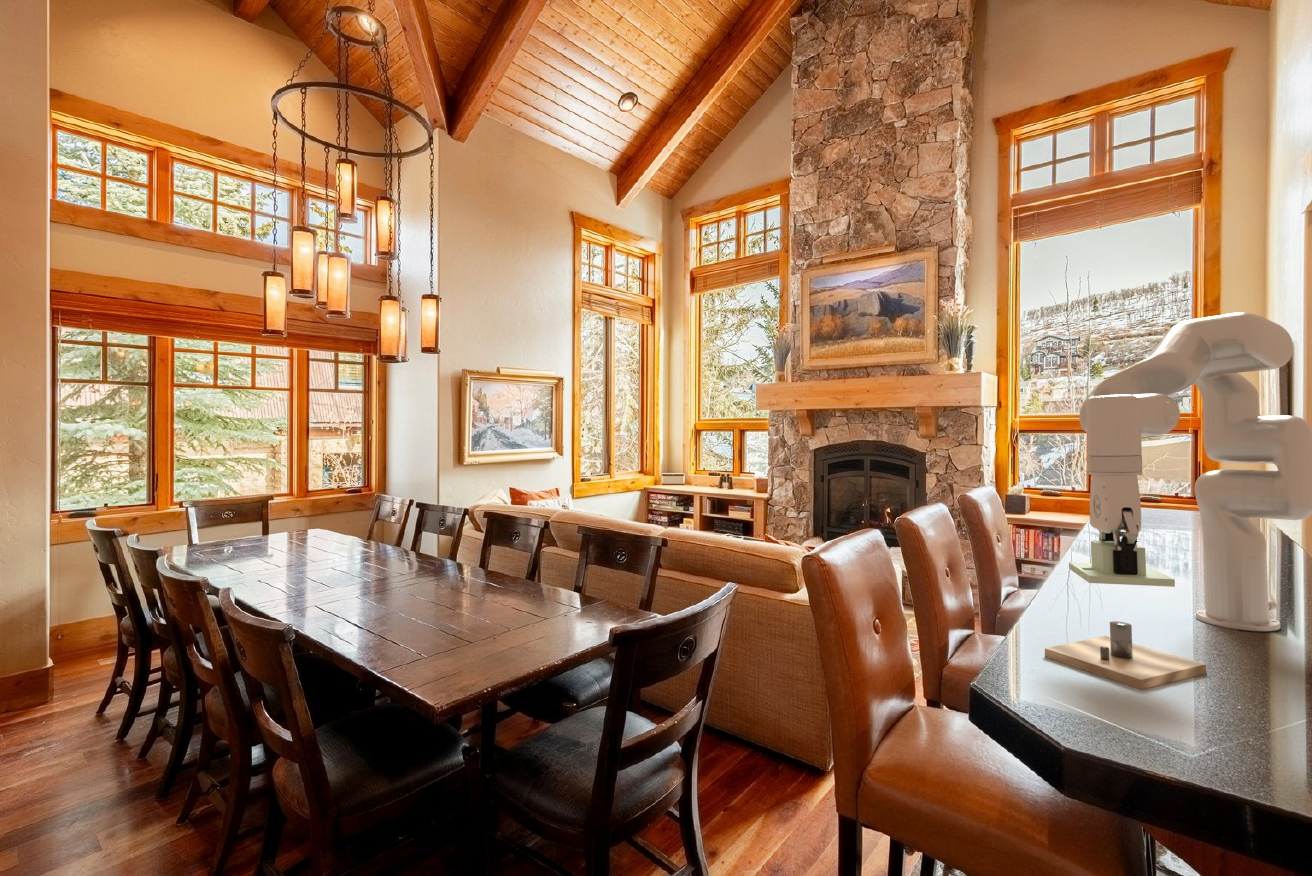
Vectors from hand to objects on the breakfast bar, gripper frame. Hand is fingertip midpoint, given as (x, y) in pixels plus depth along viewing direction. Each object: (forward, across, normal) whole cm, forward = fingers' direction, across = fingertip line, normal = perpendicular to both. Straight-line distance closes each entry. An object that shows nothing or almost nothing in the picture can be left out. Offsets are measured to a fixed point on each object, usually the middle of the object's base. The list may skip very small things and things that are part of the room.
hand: (1118, 569), depth 105 cm
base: (+16, 0, 0) cm, 16 cm away
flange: (+1, 0, 0) cm, 1 cm away
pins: (+15, +1, -1) cm, 15 cm away
